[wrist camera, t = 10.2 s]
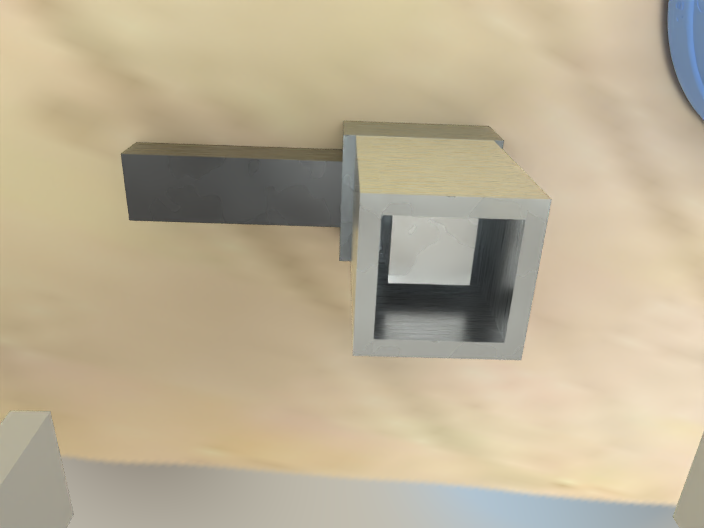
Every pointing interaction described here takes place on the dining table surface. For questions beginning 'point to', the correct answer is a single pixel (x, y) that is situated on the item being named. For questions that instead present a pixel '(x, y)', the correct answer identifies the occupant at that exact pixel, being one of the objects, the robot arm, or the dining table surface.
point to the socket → (489, 255)
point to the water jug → (688, 48)
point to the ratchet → (300, 195)
